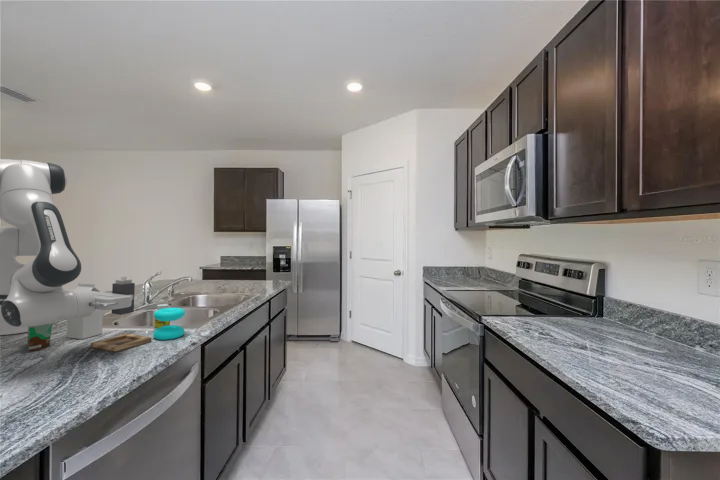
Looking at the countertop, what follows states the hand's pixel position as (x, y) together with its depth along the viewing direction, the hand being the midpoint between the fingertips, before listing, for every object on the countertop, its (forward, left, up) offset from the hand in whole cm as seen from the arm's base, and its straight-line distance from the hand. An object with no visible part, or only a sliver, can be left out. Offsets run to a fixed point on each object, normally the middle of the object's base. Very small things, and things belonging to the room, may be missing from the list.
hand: (126, 296), depth 111 cm
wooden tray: (0, -1, -16) cm, 16 cm away
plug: (0, -1, -5) cm, 6 cm away
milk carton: (-21, 0, -17) cm, 27 cm away
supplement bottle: (-5, +18, -17) cm, 25 cm away
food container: (-21, -12, -17) cm, 30 cm away
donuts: (+6, +12, -17) cm, 21 cm away
